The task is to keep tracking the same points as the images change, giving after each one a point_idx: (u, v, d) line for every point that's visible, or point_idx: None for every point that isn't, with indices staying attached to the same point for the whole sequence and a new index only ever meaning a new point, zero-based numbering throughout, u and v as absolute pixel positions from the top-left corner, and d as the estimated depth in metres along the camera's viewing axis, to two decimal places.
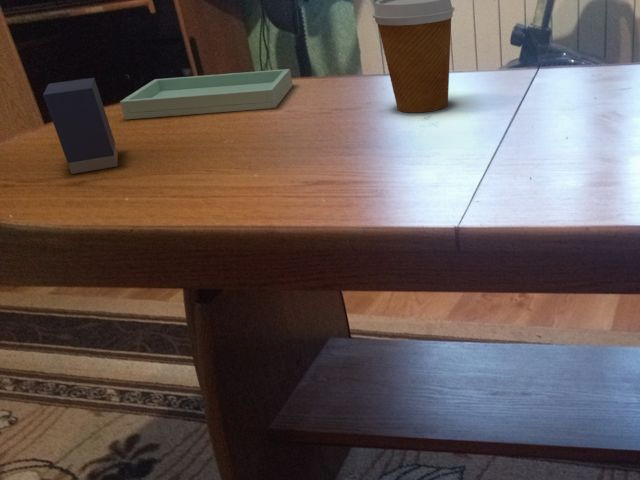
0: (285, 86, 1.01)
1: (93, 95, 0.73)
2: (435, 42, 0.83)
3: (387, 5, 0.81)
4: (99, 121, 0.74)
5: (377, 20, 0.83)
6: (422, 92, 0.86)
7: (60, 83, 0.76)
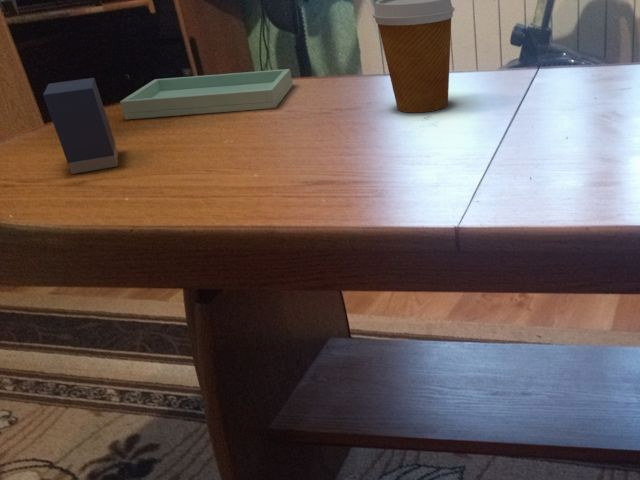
0: (285, 86, 1.01)
1: (93, 95, 0.73)
2: (435, 42, 0.83)
3: (387, 5, 0.81)
4: (99, 121, 0.74)
5: (377, 20, 0.83)
6: (422, 92, 0.86)
7: (60, 83, 0.76)
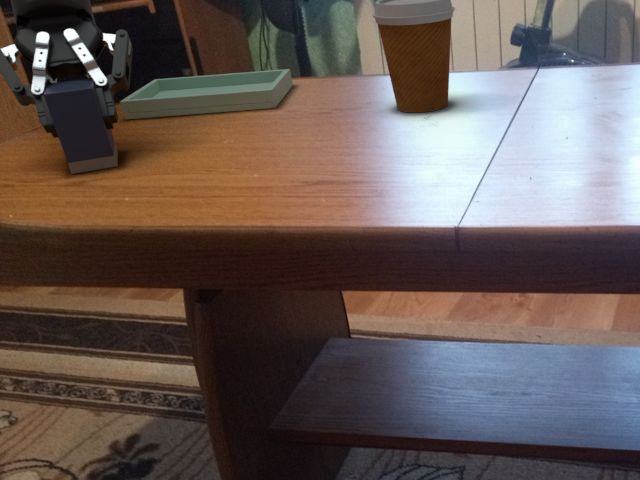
0: (285, 86, 1.01)
1: (93, 95, 0.73)
2: (435, 42, 0.83)
3: (387, 5, 0.81)
4: (99, 121, 0.74)
5: (377, 20, 0.83)
6: (422, 92, 0.86)
7: (60, 83, 0.76)
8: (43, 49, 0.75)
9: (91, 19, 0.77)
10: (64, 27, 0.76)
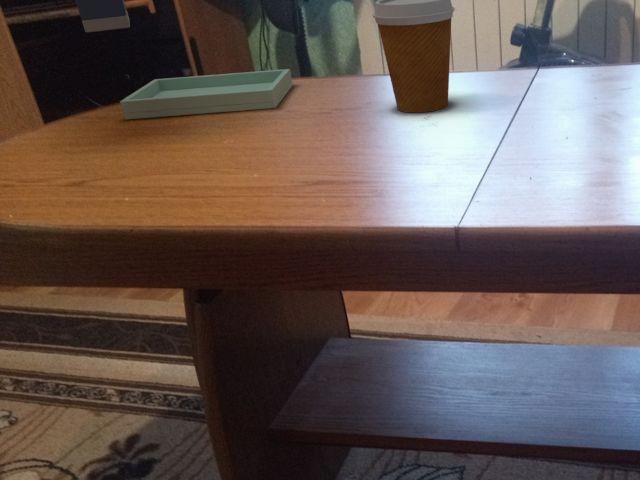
0: (285, 86, 1.01)
1: None
2: (435, 42, 0.83)
3: (387, 5, 0.81)
4: None
5: (377, 20, 0.83)
6: (422, 92, 0.86)
7: None
8: None
9: None
10: None
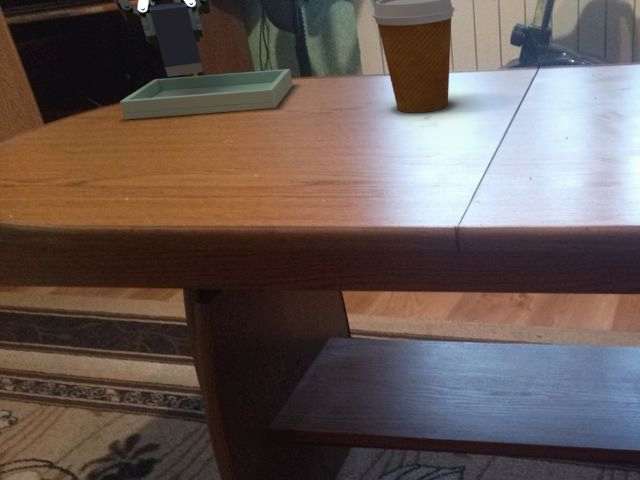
0: (285, 86, 1.01)
1: (187, 12, 0.93)
2: (435, 42, 0.83)
3: (387, 5, 0.81)
4: (190, 33, 0.94)
5: (377, 20, 0.83)
6: (422, 92, 0.86)
7: (158, 5, 0.96)
8: None
9: None
10: None
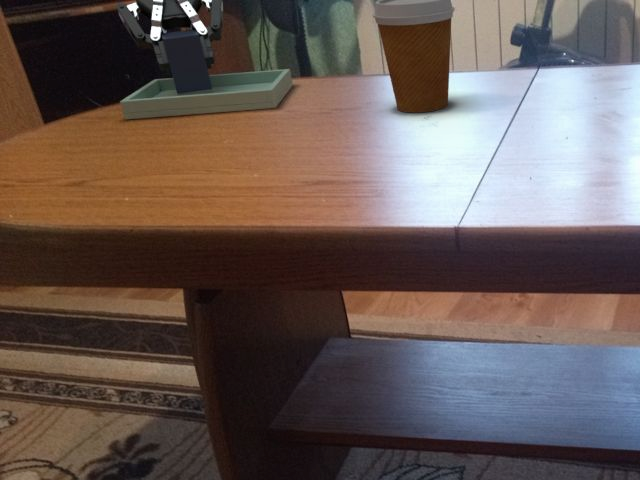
0: (285, 86, 1.01)
1: (199, 40, 0.95)
2: (435, 42, 0.83)
3: (387, 5, 0.81)
4: (202, 61, 0.96)
5: (377, 20, 0.83)
6: (422, 92, 0.86)
7: (171, 32, 0.98)
8: (159, 6, 0.96)
9: None
10: None
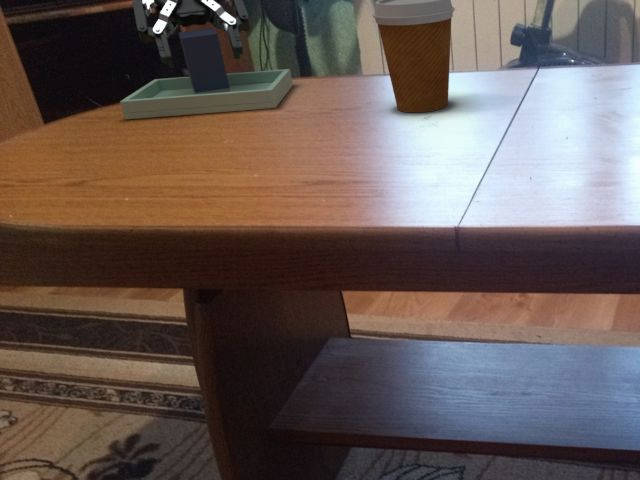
0: (285, 86, 1.01)
1: (217, 39, 0.95)
2: (435, 42, 0.83)
3: (387, 5, 0.81)
4: (220, 60, 0.96)
5: (377, 20, 0.83)
6: (422, 92, 0.86)
7: (188, 31, 0.98)
8: (176, 3, 0.96)
9: None
10: None
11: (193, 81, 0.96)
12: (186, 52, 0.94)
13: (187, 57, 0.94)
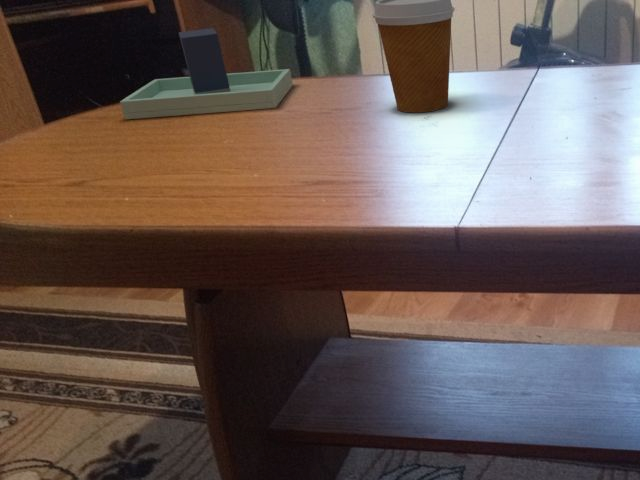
0: (285, 86, 1.01)
1: (217, 39, 0.95)
2: (435, 42, 0.83)
3: (387, 5, 0.81)
4: (220, 60, 0.96)
5: (377, 20, 0.83)
6: (422, 92, 0.86)
7: (188, 31, 0.98)
8: None
9: None
10: None
11: (193, 81, 0.96)
12: (186, 52, 0.94)
13: (187, 57, 0.94)
